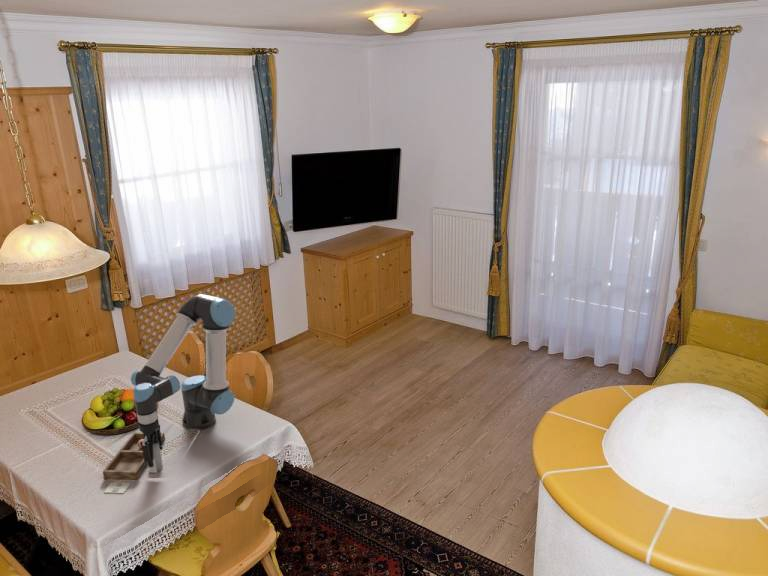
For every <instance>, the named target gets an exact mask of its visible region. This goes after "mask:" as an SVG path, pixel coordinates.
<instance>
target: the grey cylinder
mask: <svg viewBox="0 0 768 576" xmlns="http://www.w3.org/2000/svg"><path fill="white" fill-rule="evenodd" d="M160 451H161V450H160V448H159V444H158V443H154V444H153V458H155V463H156V469H157V472H159V471H161V470H162V469H163V459H162V460H161V457H162V453H161V454H160Z"/></svg>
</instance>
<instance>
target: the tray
mask: <svg viewBox="0 0 768 576" xmlns="http://www.w3.org/2000/svg"><path fill="white" fill-rule="evenodd" d="M143 436H144V434H143V433H142V432H141V431H140V432H133V433H132V434H131V435H130V437H129V438H128V439H127V440H126V442H125V443H124V444H123V446H122V447H121V448H120V449H119V450H118V452H117V453H115V455H114V457H113V458H112V459H111V460H110V462H109V463H108V464H107V466H105V468H104V469H103V471H102V474H103V478H104V480H107V481H134V482H135V481H137V482H138V481H139V480H140V478H141V477H140V476H141V474H142V473H143V471H144V469H145V468H146V466H147V465H148V462H144V457H143V451H142V448H139V447H138V441H139V440H141V439H144V437H143ZM161 438H162V443H163V442H164V441H165V439H166V436H165V433H164V432H161ZM159 443H160V442H159Z"/></svg>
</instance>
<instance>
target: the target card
mask: <svg viewBox="0 0 768 576" xmlns="http://www.w3.org/2000/svg"><path fill="white" fill-rule="evenodd" d="M130 485H131V483H130V482H113V481H112V482H110V484H109V485H108V486H107V487H106V489H105V490H104V492H103V493H104V494H123V495H124V493H125V492H126V490H127V489H128V488H129V487H130Z"/></svg>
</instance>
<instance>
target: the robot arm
mask: <svg viewBox="0 0 768 576" xmlns="http://www.w3.org/2000/svg"><path fill="white" fill-rule="evenodd" d="M175 315H176V318H175V320H174V321H173V323H172V324H171V326H170V327H169V329H168V330H167V332H166V333H165V335H164V336H163V337H162V339H161V341H160V342H159V343H158V345H157V347H156V348H155V349H154V350H153V352H152V354H151V355H150V357H149V359H148V360H147V361H146V363H145V365H144V366H143V367H142V369H139V368H138V369H137V370H135V371H134V372H133V373H132V374H131V376H130V381H131V385H133V386H134V388H132V389H133V390H132V392H133V394H132V395H133V401H134V405H135V411H136V416H137V422H138V428H139V431H140V432H142V433H143V434H144V436H143V437H144V440H143V441H141V443H140V444H141V446H142V451H143V457H144V462H148V464H147V465H148V470H149V473H150V474H151V473H155V474H157V472H158V471H157V469H156V463H155V458H153V444H154V443H158V444H159V448H160V454H161V455H162V452H161V450H163V448H164V447H163V442H162V438H161V433H162V432H161V424H160V423H159V416H158V410H157V404H158V403H160V402H161V401H163V400H166V399H167V398H169V397H171V396H173V395H174V394H176V393H177V392H179V391H181V395H182V400H183V402H182V403H183V409H184V411H183V415H182V420H181V422H182V426H183V427H185V428H188V429H191V430H192V429H193V430H196V429H199V430H198V431H201V430H205V429H208V428H209V427H211V426H212V425H214V424H215V422H216V415H219V416H220V415H224V414H226V413H227V412H229V411H230V410H231V407H232V406H233V404H234V402H235V394H234V392H233V391H232V390H230V382H229V381H228V380H227V379H226V375H227V374H226V373H227V370H226V369H227V368H226V367H227V365H226V364H227V363H226V362H227V359H226V357H227V355H226V353H227V345H226V344H227V331H228V329H230V325H231V324H232V323H233V322H234V320H235V317H236V310H235V307H234V305H233V303H231V301H230V300H227V299H225V298H223V297H217V296H214V295H209V294H206V293H199V294H196V295H194V296H191V297H190V298H189V299H188V300H186V301H185V302H184V304H182V306H181V307H180V308H179V310H177V312H176V313H175ZM199 321H201V322H202V329H203V330H204V331H205V375H193V376H189V377H187V378H185V379H184V380H183V381H182V382H180V380H179V379H178V377H176V376H175V375H169V376H166V377H163V376H161V374H162V372H163V371H164V369H165V368H166V366H167V365H168V363H169V362H170V360H171V359H172V357H173V356H174V354H175V353H176V352H177V349H179V346H180V345H182V344H181V343H182V342H183V340H184V339H185V338H186V336H187V335H188V333H189V332H190V330H191V329H192V327H193V326H196V325H197V324H198V322H199ZM159 442H160V443H159ZM161 460H162V461H163V458H162V456H161Z"/></svg>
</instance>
